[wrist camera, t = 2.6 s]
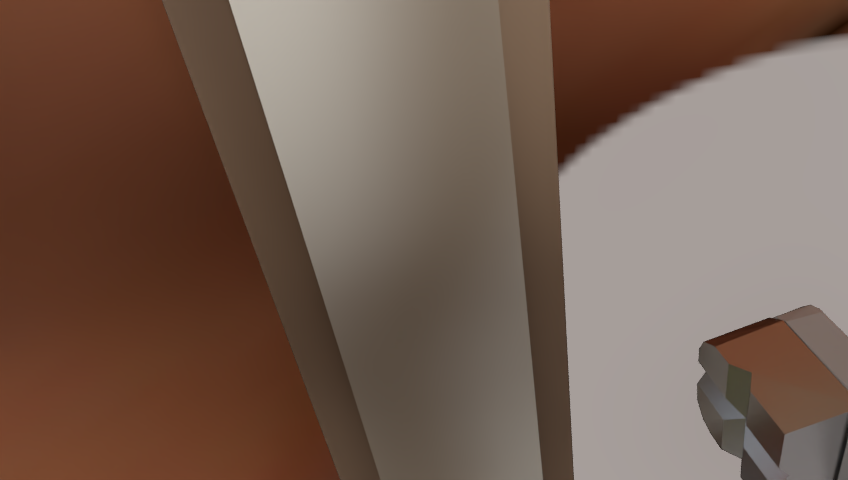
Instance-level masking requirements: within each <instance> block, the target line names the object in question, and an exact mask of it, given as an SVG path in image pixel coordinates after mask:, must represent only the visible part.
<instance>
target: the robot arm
mask: <svg viewBox="0 0 848 480" xmlns="http://www.w3.org/2000/svg"><path fill="white" fill-rule="evenodd" d="M698 361H699V363H700V364H701V365H702V367H703V368H704V370H705V371H706V373H705V374H704V375H703V377H702V378H701V379H700V381H699V382H698V384H697V400H698V403H699V407H700V410H701V414H702V417H703V420H704V421H705V423H706V425H707V427H708V429H709V431H710V433H711V435H712V436H713V438H714V439H715V440H716V442H717V444H718V445H719V447H720V448H721V449H722V450H724V451H726V452H728V453H730V454H732V455H735V456H737V457H739V458H741V459H742V464H741V478H742V479H743V480H848V337H847V336H846V335H845V334H844V333H843V332H842V331H841V330H840V329H839V328H838V327H837V326H836V325H835V324H834V323H833V322H832V321H831V320H830V319H829V318H828V317H827V316H826V315H825V314H824V313H823V312H822V311H821V310H820V309H819V308H816V307H814V306H812V305H808V306H803V307H800V308H798V309H795V310H793V311H790V312H787V313H785V314H782V315H779V316H776V317H774V318H767V319H765V320H762V321H759V322H756V323H754V324H751V325H748V326H745V327H743V328H740V329H737V330H735V331H732V332H729V333H726V334H724V335H721V336H718V337H716V338H713V339H710V340H707V341H705V342H703V344H702V346H701V347H700V348H699V360H698Z"/></svg>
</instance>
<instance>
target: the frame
mask: <svg viewBox="0 0 848 480" xmlns="http://www.w3.org/2000/svg"><path fill="white" fill-rule="evenodd" d="M162 2H163V5H164V7H165V10H166V13H167V15H168V18H169V21H170V23H171V26H172V29H173V31H174V34H175V37H176V40H177V42H178V45H179V48H180V50H181V53H182V56H183V58H184V61H185V64H186V66H187V69H188V72H189V75H190V77H191V80H192V83H193V85H194V88H195V91H196V93H197V96H198V99H199V101H200V104H201V107H202V109H203V112H204V115H205V118H206V120H207V123H208V126H209V128H210V131H211V134H212V136H213V139H214V142H215V144H216V147H217V150H218V153H219V155H220V158H221V161H222V163H223V166H224V169H225V171H226V174H227V177H228V179H229V182H230V185H231V187H232V190H233V193H234V196H235V198H236V201H237V204H238V206H239V209H240V212H241V214H242V217H243V220H244V222H245V225H246V228H247V231H248V233H249V236H250V239H251V241H252V244H253V247H254V249H255V252H256V255H257V257H258V260H259V263H260V265H261V268H262V271H263V274H264V276H265V279H266V282H267V284H268V287H269V290H270V292H271V295H272V298H273V300H274V303H275V306H276V309H277V311H278V314H279V317H280V319H281V322H282V325H283V327H284V330H285V333H286V335H287V338H288V341H289V343H290V346H291V349H292V352H293V354H294V357H295V360H296V362H297V365H298V368H299V370H300V373H301V376H302V378H303V381H304V384H305V387H306V389H307V392H308V395H309V397H310V400H311V403H312V405H313V408H314V411H315V413H316V416H317V419H318V421H319V424H320V427H321V430H322V432H323V435H324V438H325V440H326V443H327V446H328V448H329V451H330V454H331V456H332V459H333V462H334V465H335V467H336V470H337V473H338V475H339V478H340V480H574V475H573V474H574V473H573V454H572V436H571V435H572V434H571V416H570V395H569V375H568V355H567V336H566V317H565V299H564V298H565V297H564V277H563V258H562V238H561V219H560V200H559V179H558V159H557V140H556V120H555V100H554V81H553V61H552V41H551V22H550V2H549V0H162Z"/></svg>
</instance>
